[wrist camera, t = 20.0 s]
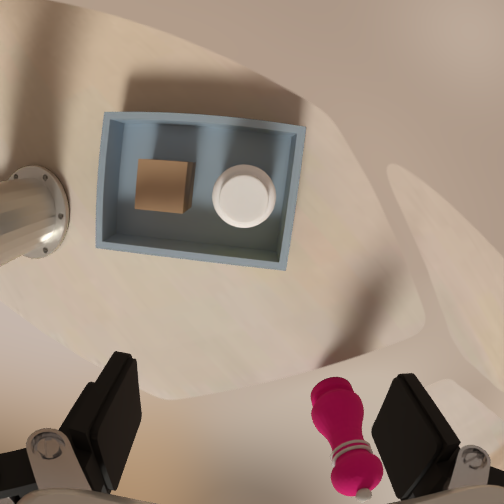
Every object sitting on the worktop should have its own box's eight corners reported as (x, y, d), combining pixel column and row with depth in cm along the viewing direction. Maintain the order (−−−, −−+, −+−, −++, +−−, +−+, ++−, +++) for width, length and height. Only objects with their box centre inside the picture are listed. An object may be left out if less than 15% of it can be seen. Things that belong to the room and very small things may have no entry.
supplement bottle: (274, 209, 36) (284, 227, 26) (225, 219, 36) (216, 240, 26) (265, 160, 34) (272, 158, 25) (215, 170, 35) (202, 172, 25)
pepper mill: (323, 367, 42) (360, 481, 23) (363, 381, 43) (410, 484, 24) (298, 402, 44) (318, 514, 25) (337, 414, 45) (368, 517, 26)
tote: (112, 237, 37) (95, 247, 32) (121, 117, 34) (104, 112, 29) (281, 257, 38) (285, 270, 33) (298, 131, 34) (306, 126, 30)
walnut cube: (152, 159, 34) (138, 158, 29) (196, 162, 34) (187, 162, 30) (149, 202, 36) (134, 209, 31) (191, 207, 36) (182, 213, 31)
